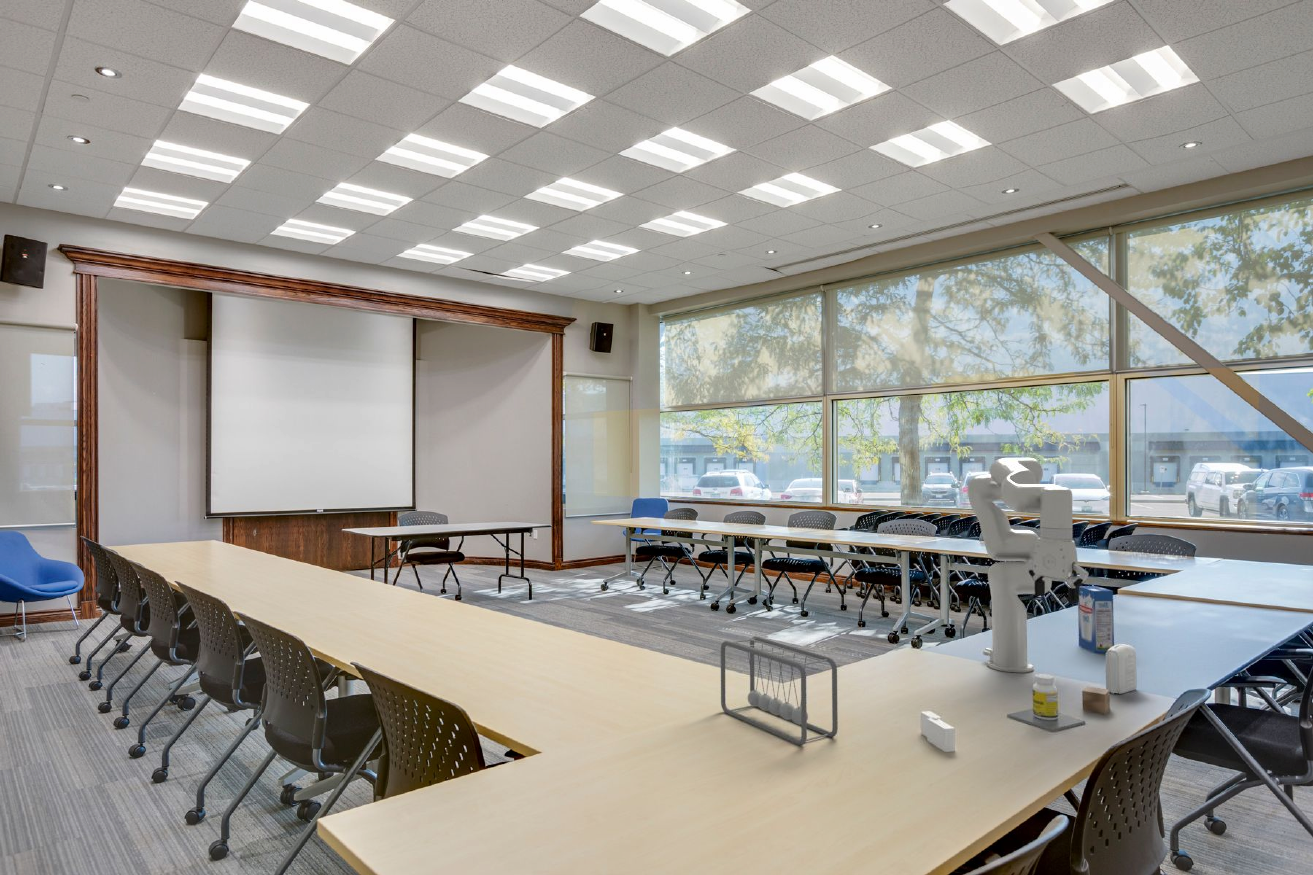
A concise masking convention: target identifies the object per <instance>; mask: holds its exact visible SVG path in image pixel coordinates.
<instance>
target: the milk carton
mask: <svg viewBox="0 0 1313 875" xmlns="http://www.w3.org/2000/svg"><path fill="white" fill-rule="evenodd" d="M1077 606H1078V607H1077V612H1078V613H1077V616H1078V617H1077V620H1078V621H1077V622H1078V647H1080V646H1081V647H1080V648H1083V649H1085V648H1086V649H1085V650H1086V651H1089V650H1091V651H1090V652H1092V651H1093V653H1095V654H1106V652H1107V651H1108V650H1109V649H1110V648H1111V647H1113V646H1115V626H1114V624H1115V623H1114V590H1111V589H1107V588H1104V587H1099V586H1096V585H1095V586H1094V585H1093V586H1091V585H1090V586H1087V585H1085V586H1083V585H1081V587H1080V588H1079V600H1078V603H1077Z"/></svg>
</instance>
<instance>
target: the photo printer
mask: <svg viewBox="0 0 1313 875" xmlns="http://www.w3.org/2000/svg"><path fill="white" fill-rule="evenodd" d="M1137 687H1138V680H1137V652H1136V650H1135V648H1134V647H1133V646H1131V645H1129V644H1125V643H1124V644H1123V643H1118V644H1114V646H1113V647H1111V648H1110V649H1109V650H1108V651H1107V652H1106V653H1105V689H1107V690H1110V692H1111V693H1110V694H1114V693H1119V694H1118V695H1120V694H1125V693H1127V692H1131V691H1135V690H1136V689H1137Z"/></svg>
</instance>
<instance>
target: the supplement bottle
mask: <svg viewBox="0 0 1313 875" xmlns="http://www.w3.org/2000/svg"><path fill="white" fill-rule="evenodd" d="M1054 678H1055V676H1053V675H1050V674H1046V673H1045V674H1044V673H1036V674H1035V683H1034V684H1032V709H1033V715H1034V716H1035V717H1036V718H1039V719H1042V720H1056V719H1058V713H1059V698H1058V697H1059V696H1058V688H1057V686H1056V685H1054V684H1055V679H1054Z"/></svg>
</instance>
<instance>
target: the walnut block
mask: <svg viewBox="0 0 1313 875" xmlns="http://www.w3.org/2000/svg"><path fill="white" fill-rule="evenodd" d="M1081 692H1082V693H1081V694H1082V696H1081V697H1082V700H1081V701H1082V711H1083V710H1084V711H1083V712H1089V713H1093V712H1094V714H1100V715H1105V716H1106V715H1107V714H1108V713H1109V712H1110V710H1111V704H1110V703H1111V702H1110V701H1111V697H1110V696H1111V695H1110V694H1111V693H1110V690H1107V689H1106V688H1100V687H1094V686H1090V685H1086V686H1085V687H1084V688H1083V689H1082V691H1081Z"/></svg>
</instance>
